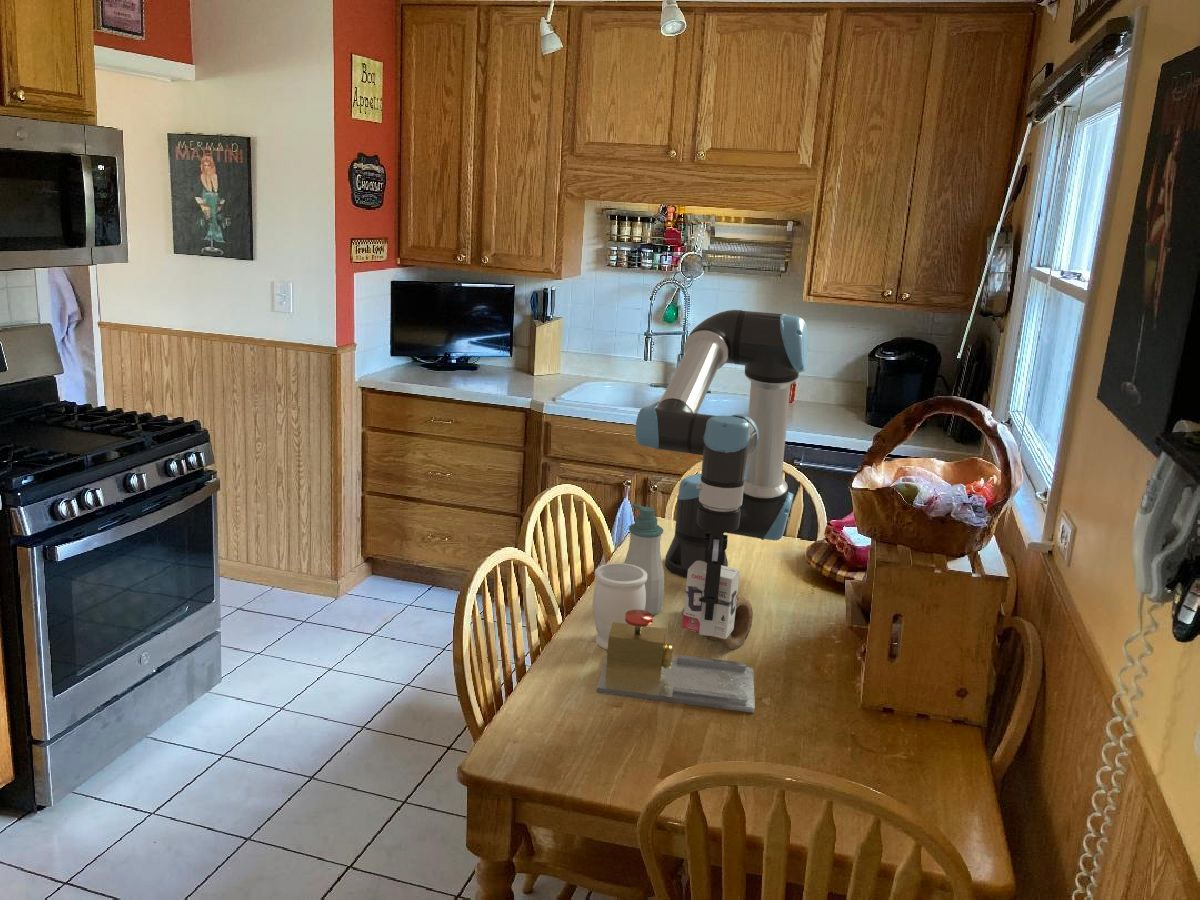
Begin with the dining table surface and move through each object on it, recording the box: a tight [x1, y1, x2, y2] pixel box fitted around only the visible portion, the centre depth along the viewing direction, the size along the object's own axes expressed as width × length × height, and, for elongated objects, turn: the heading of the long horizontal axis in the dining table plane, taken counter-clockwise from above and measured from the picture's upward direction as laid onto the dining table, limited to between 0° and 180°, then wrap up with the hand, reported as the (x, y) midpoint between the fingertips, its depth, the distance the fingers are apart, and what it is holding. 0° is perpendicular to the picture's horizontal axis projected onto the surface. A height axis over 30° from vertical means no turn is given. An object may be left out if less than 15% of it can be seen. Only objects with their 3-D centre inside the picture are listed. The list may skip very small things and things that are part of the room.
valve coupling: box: [596, 610, 756, 714], centre depth 173 cm, size 15×28×12 cm, turn 82°
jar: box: [592, 562, 648, 651], centre depth 186 cm, size 11×10×15 cm
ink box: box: [681, 561, 741, 639], centre depth 169 cm, size 8×5×12 cm, turn 65°
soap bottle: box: [623, 503, 665, 617], centre depth 201 cm, size 10×10×23 cm
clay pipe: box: [681, 595, 754, 650], centre depth 194 cm, size 19×11×15 cm
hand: (707, 626), depth 171 cm, fingers closed on ink box, 6 cm apart
